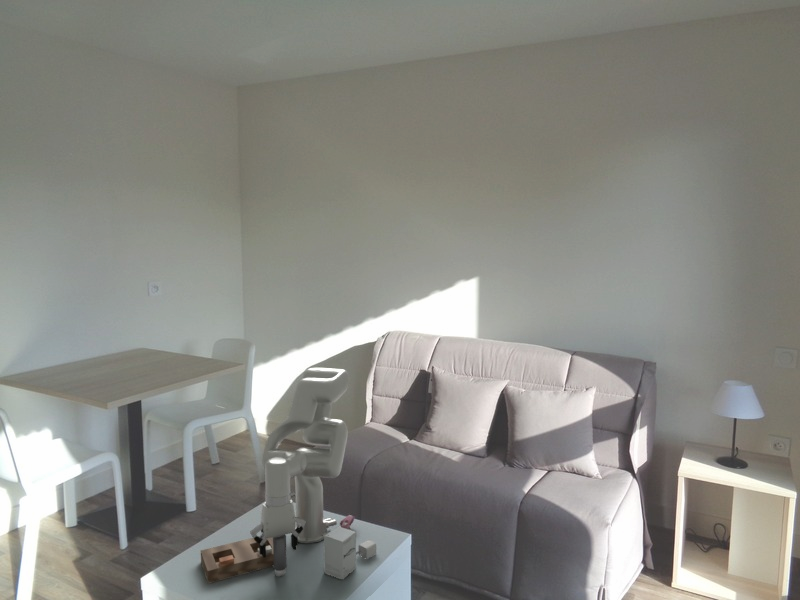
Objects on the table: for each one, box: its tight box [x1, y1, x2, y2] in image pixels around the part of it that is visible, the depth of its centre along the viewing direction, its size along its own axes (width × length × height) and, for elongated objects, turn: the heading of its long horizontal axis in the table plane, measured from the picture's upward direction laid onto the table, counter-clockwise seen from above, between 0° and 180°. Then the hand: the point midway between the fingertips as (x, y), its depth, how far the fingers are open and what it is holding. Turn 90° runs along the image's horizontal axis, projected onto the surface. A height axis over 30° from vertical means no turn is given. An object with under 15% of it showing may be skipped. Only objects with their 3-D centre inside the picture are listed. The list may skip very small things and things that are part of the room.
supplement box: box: [323, 525, 357, 580], centre depth 183 cm, size 7×7×13 cm
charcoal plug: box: [273, 534, 288, 577], centre depth 182 cm, size 4×4×12 cm
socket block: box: [200, 535, 274, 584], centre depth 188 cm, size 24×13×6 cm, turn 118°
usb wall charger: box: [356, 539, 377, 560], centre depth 192 cm, size 4×7×4 cm, turn 137°
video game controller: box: [339, 514, 355, 530], centre depth 207 cm, size 10×5×7 cm, turn 169°
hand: (278, 551), depth 181 cm, fingers open, 9 cm apart
